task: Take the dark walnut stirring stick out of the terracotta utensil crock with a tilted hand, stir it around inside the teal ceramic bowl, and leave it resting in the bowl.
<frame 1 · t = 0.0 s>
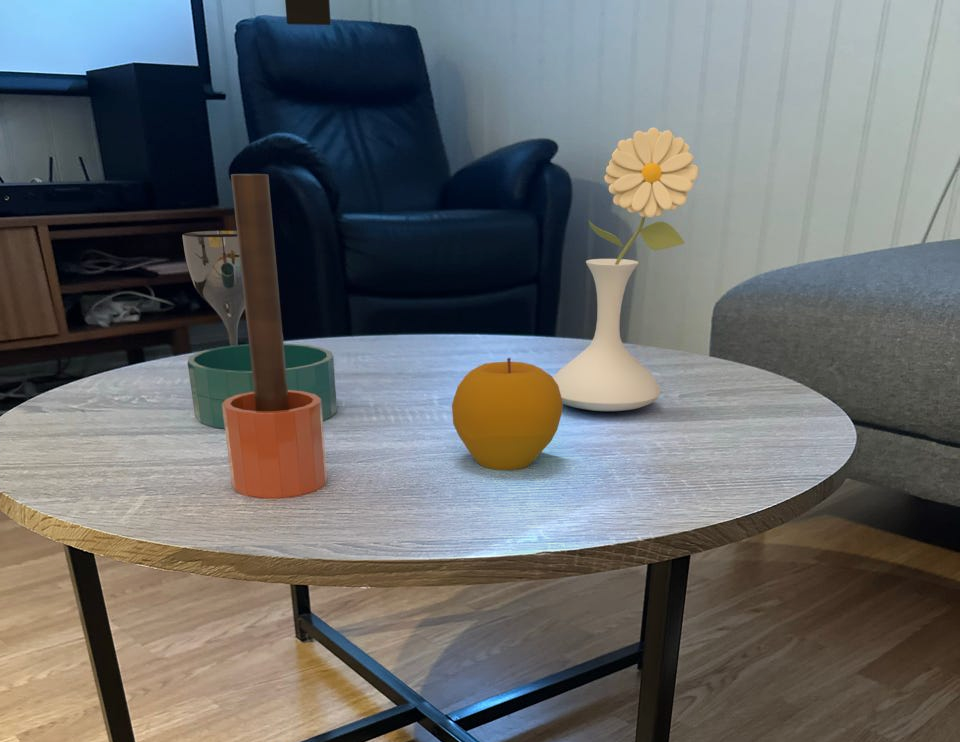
hand: (297, 11, 54), 30 cm above the table, tool pointing down, fingers open, 13 cm apart
apple: (506, 473, 77), on the table
wine glass: (237, 378, 107), on the table
crock: (281, 492, 71), on the table
flower in vase: (610, 409, 95), on the table
bowl: (267, 420, 90), on the table
stick: (280, 482, 71), point 1 cm above the table, touching crock
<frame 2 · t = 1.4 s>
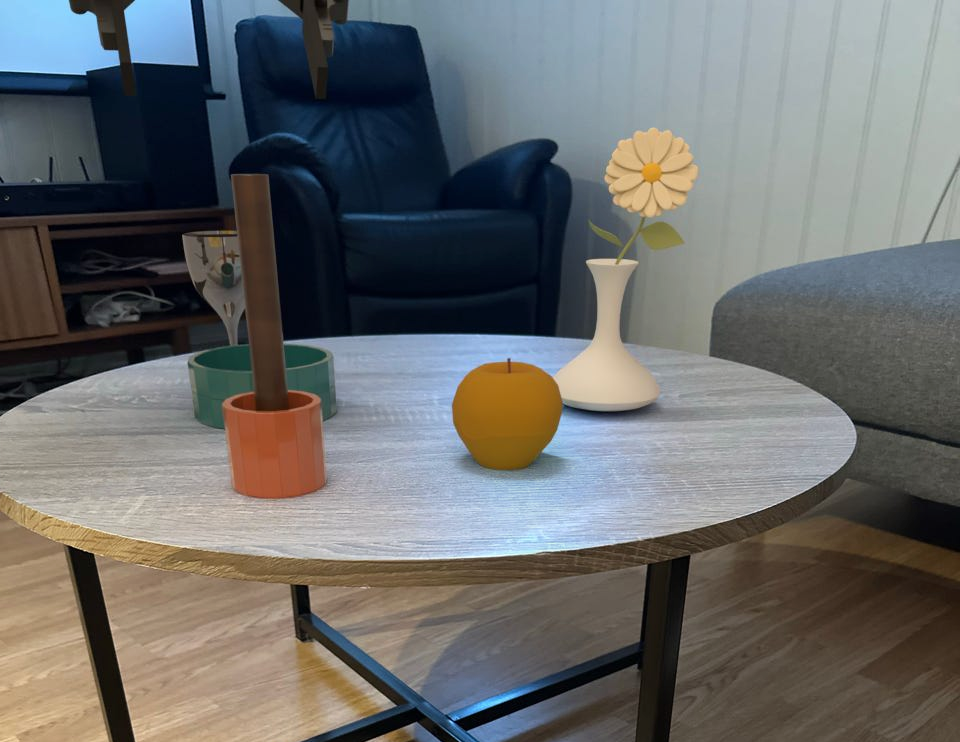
hand: (227, 82, 67), 27 cm above the table, tool tilted 45°, fingers open, 13 cm apart
nothing on the table moved.
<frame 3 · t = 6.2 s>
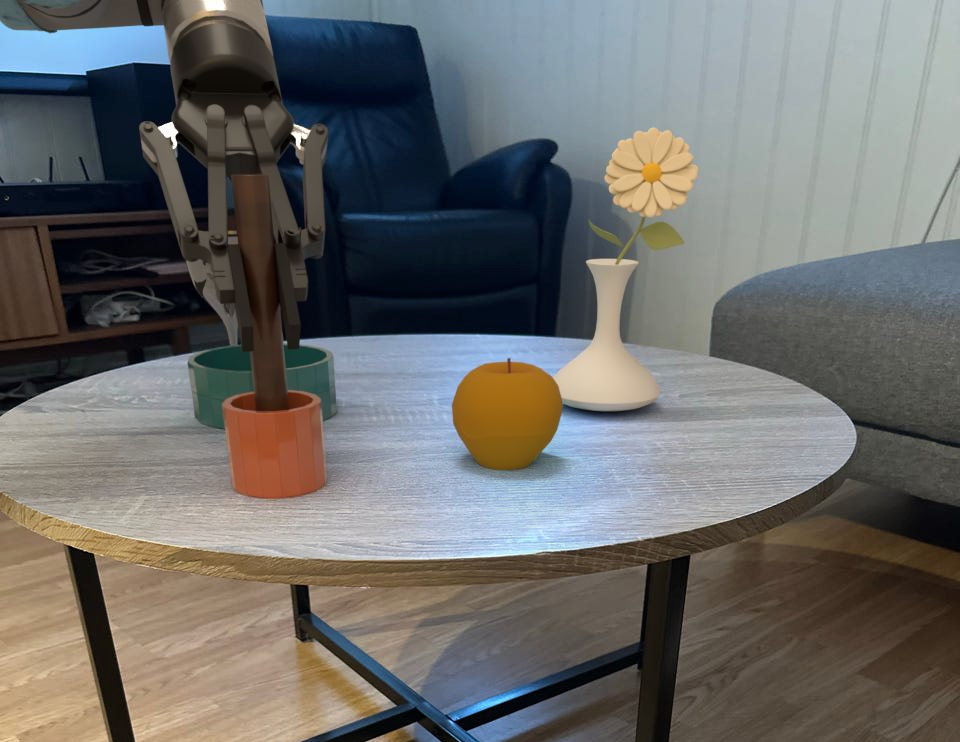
hand: (271, 337, 63), 12 cm above the table, tool tilted 45°, fingers closed on stick, 2 cm apart
stick: (280, 482, 71), point 1 cm above the table, touching crock, gripper
everything else where it was.
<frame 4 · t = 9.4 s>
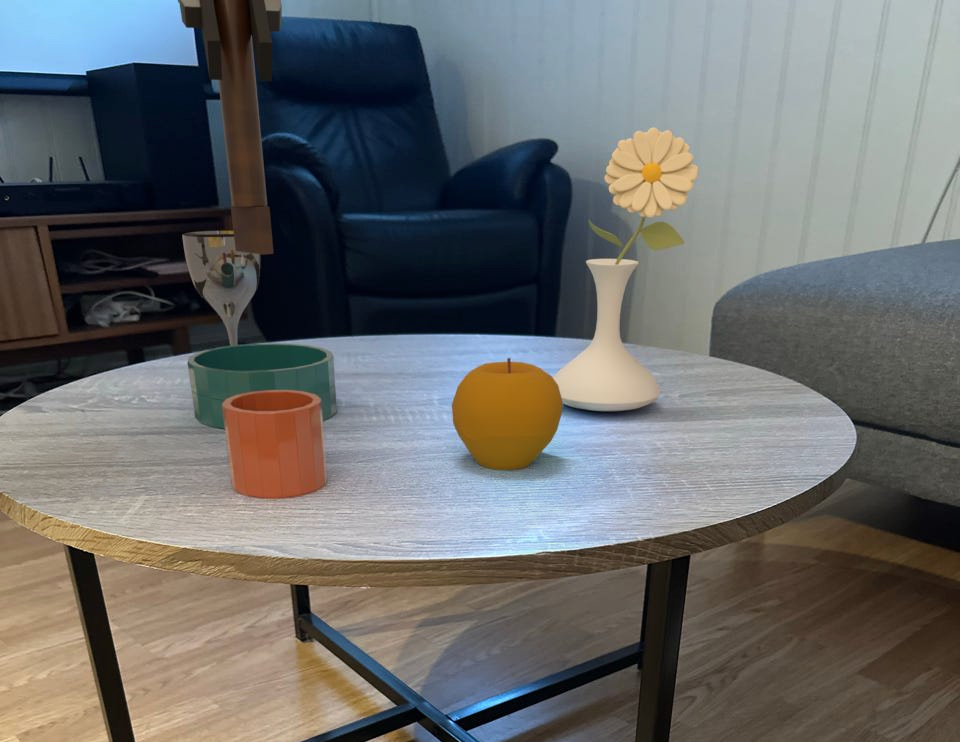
hand: (240, 60, 58), 28 cm above the table, tool tilted 45°, fingers closed on stick, 2 cm apart
stick: (254, 252, 66), point 17 cm above the table, touching gripper
everything else where it was.
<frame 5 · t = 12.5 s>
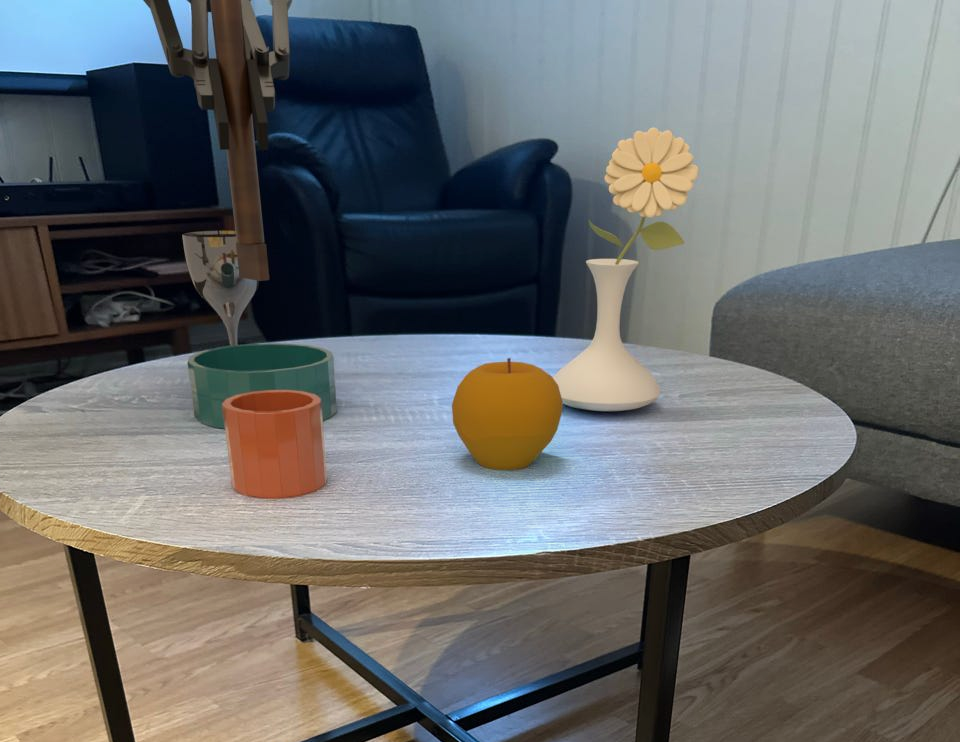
hand: (243, 135, 75), 24 cm above the table, tool tilted 45°, fingers closed on stick, 2 cm apart
stick: (254, 278, 84), point 13 cm above the table, touching gripper
everything else where it was.
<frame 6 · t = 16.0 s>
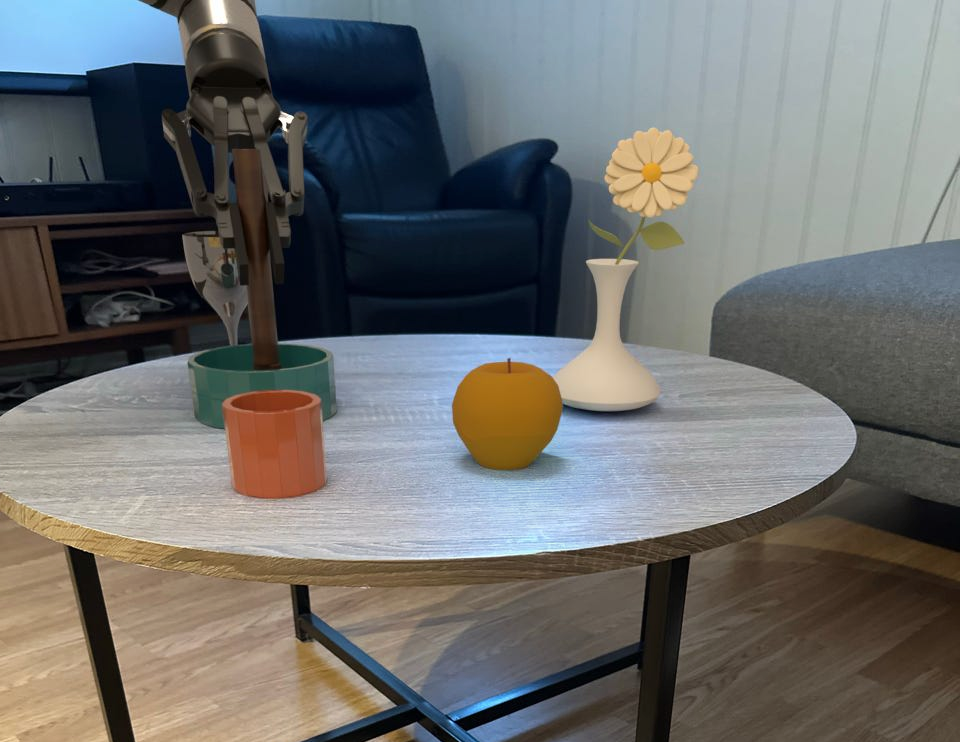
hand: (262, 274, 82), 13 cm above the table, tool tilted 45°, fingers closed on stick, 2 cm apart
stick: (269, 394, 90), point 2 cm above the table, touching gripper
everything else where it was.
when the fingers open (12 cm above the table, at t = 18.7 s): stick stays where it is, resting on bowl.
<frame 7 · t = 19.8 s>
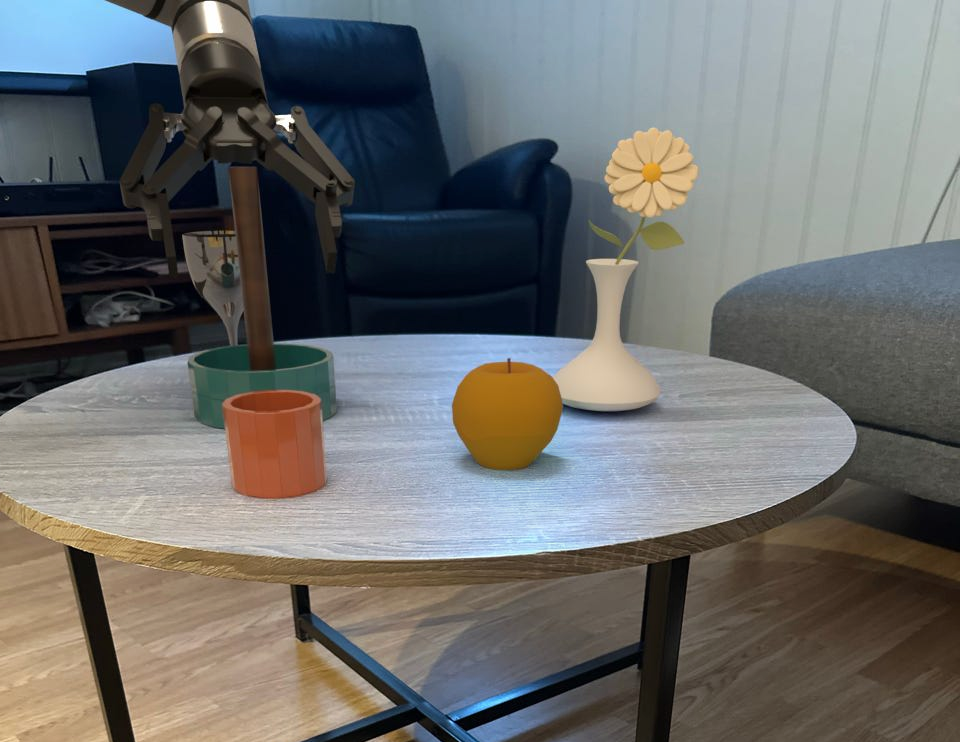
hand: (254, 265, 81), 14 cm above the table, tool tilted 45°, fingers open, 13 cm apart
stick: (267, 412, 90), point 1 cm above the table, touching bowl
everything else where it was.
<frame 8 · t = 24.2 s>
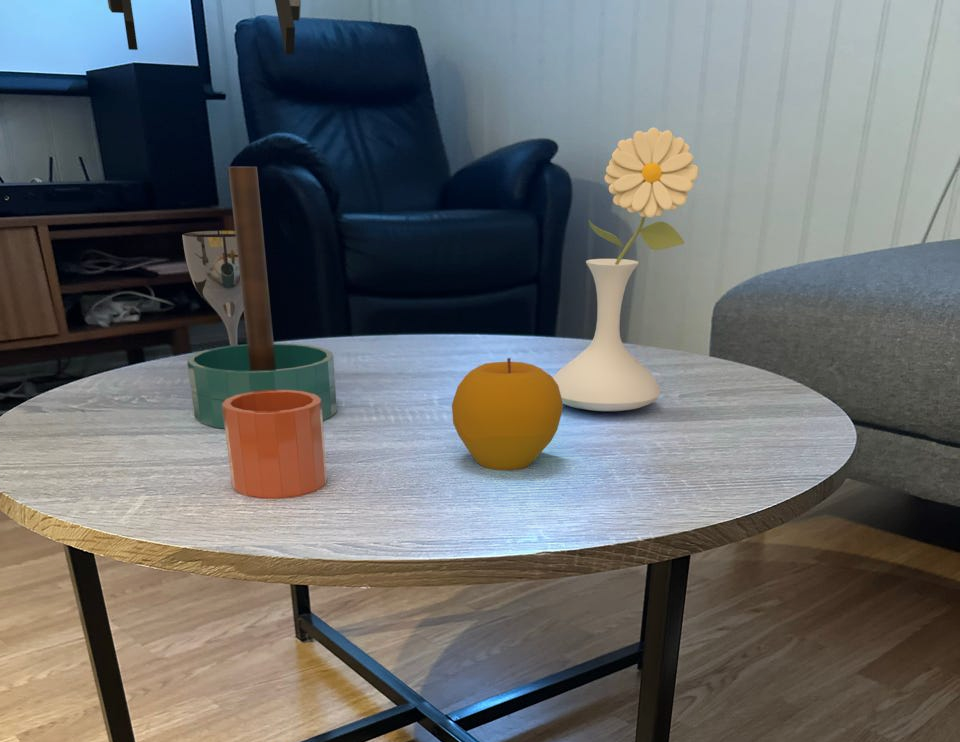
hand: (212, 39, 82), 32 cm above the table, tool tilted 45°, fingers open, 13 cm apart
nothing on the table moved.
at the end: stick inside the target area in the bowl (0.1 cm from its centre), point 0.8 cm above the bowl's base; the gripper is holding nothing; stick moved 21.7 cm from its start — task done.
